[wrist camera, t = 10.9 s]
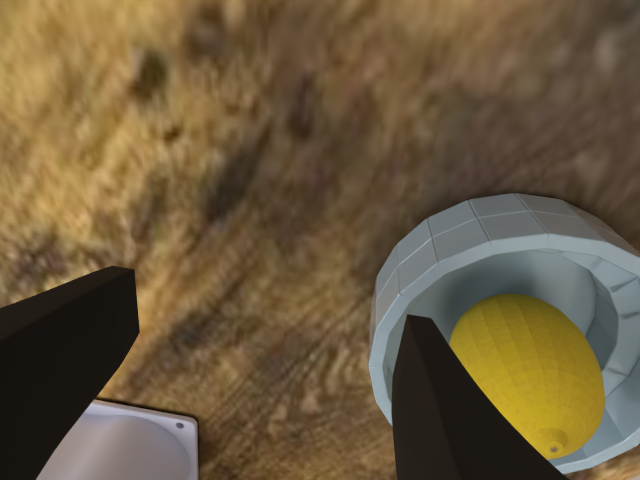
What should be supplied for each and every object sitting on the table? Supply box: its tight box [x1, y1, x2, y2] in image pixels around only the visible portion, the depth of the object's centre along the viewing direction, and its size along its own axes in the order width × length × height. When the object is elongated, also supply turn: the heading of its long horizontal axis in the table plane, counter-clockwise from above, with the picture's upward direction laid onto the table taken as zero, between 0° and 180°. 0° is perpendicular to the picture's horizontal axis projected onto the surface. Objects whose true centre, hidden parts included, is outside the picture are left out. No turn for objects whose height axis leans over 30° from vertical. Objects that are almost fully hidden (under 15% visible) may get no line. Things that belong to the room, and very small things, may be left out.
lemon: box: [449, 293, 605, 460], centre depth 18 cm, size 6×6×8 cm
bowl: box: [369, 193, 640, 474], centre depth 20 cm, size 12×12×5 cm
